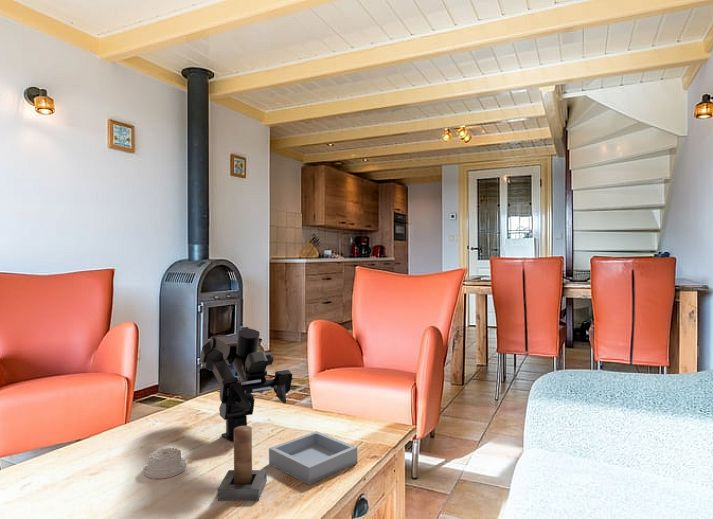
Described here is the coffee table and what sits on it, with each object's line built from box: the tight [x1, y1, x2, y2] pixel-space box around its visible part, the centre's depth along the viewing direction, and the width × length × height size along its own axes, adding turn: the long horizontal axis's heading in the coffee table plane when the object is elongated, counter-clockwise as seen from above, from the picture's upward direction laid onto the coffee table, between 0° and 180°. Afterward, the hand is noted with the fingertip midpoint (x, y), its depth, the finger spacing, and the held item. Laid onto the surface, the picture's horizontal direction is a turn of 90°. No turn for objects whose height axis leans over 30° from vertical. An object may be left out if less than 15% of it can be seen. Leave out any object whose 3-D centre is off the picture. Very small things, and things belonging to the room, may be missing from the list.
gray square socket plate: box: [217, 469, 268, 501], centre depth 108 cm, size 9×9×2 cm
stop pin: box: [233, 425, 253, 485], centre depth 108 cm, size 4×4×14 cm
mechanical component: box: [142, 447, 187, 480], centre depth 119 cm, size 10×4×10 cm
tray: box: [268, 430, 358, 486], centre depth 122 cm, size 16×16×4 cm
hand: (268, 405), depth 118 cm, fingers open, 9 cm apart
